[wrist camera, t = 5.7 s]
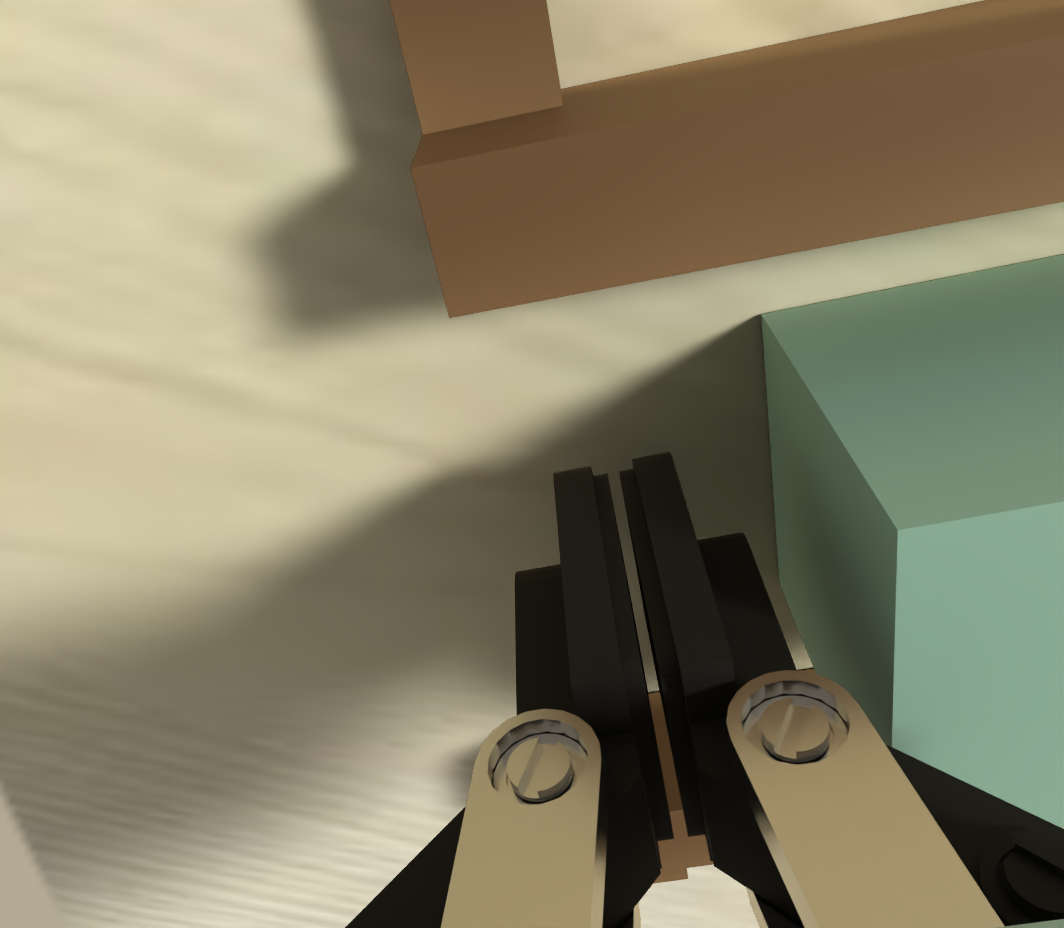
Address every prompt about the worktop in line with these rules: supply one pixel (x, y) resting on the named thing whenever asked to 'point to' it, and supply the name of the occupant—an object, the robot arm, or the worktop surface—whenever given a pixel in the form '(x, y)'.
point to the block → (932, 515)
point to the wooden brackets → (717, 160)
